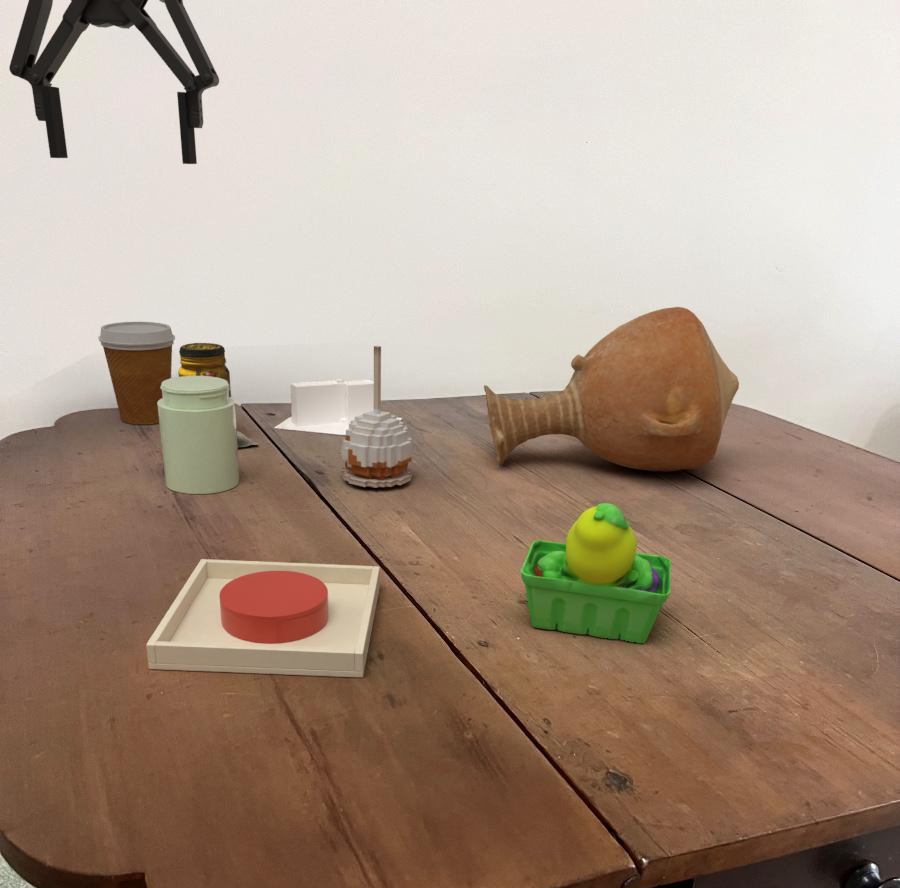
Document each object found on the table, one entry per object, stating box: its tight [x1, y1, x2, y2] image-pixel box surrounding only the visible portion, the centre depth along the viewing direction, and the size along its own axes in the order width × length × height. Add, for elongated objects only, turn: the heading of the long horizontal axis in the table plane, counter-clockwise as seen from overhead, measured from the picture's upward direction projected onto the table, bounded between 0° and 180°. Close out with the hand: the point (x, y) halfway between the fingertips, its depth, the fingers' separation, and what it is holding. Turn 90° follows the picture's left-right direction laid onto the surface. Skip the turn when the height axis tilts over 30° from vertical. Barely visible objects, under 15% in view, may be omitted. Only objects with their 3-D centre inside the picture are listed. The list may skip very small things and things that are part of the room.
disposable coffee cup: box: [97, 321, 176, 425], centre depth 121 cm, size 10×10×12 cm
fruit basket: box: [520, 502, 672, 644], centre depth 71 cm, size 11×9×11 cm
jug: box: [483, 306, 740, 473], centre depth 109 cm, size 20×19×30 cm
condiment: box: [178, 342, 259, 448], centre depth 112 cm, size 7×8×12 cm
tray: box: [145, 558, 381, 678], centre depth 71 cm, size 15×15×2 cm
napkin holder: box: [273, 378, 403, 436], centre depth 125 cm, size 15×11×6 cm
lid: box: [219, 571, 328, 644], centre depth 71 cm, size 8×8×2 cm
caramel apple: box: [340, 345, 414, 489], centre depth 101 cm, size 8×8×15 cm
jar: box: [157, 376, 241, 495], centre depth 99 cm, size 8×8×11 cm
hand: (124, 161), depth 96 cm, fingers open, 13 cm apart
